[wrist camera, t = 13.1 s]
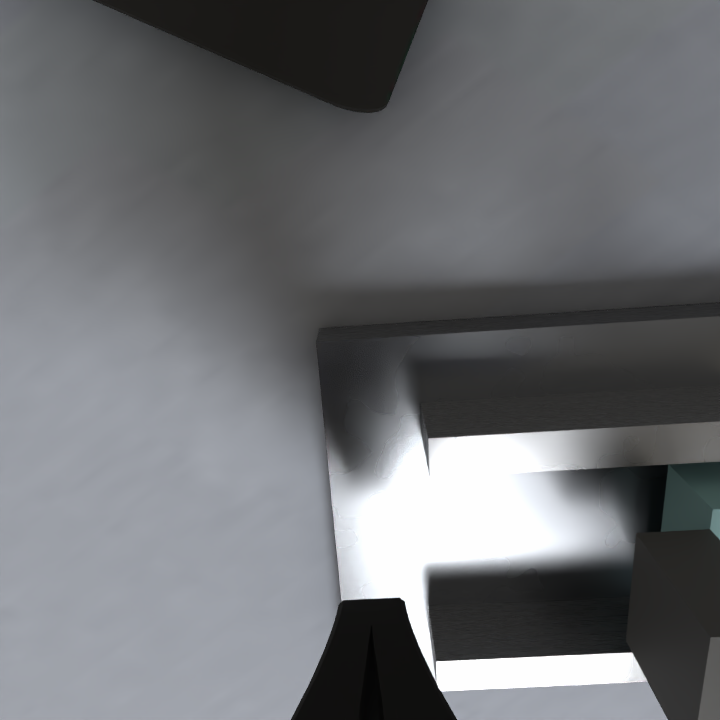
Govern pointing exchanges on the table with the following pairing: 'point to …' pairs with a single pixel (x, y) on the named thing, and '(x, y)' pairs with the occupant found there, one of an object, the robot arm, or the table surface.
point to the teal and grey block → (680, 596)
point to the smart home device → (299, 40)
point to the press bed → (514, 477)
